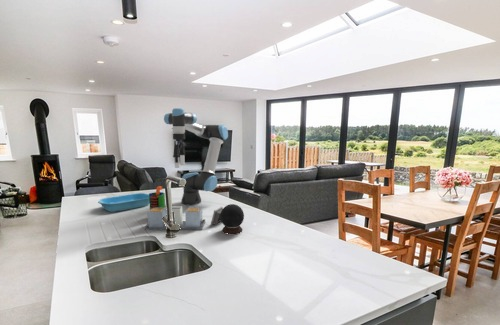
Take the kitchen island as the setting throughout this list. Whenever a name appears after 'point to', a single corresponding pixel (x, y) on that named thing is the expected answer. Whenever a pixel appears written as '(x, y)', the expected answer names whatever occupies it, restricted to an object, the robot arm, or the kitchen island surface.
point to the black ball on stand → (232, 219)
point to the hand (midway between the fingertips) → (179, 166)
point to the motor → (157, 198)
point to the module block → (178, 214)
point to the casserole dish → (124, 202)
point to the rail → (191, 223)
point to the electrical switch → (216, 216)
